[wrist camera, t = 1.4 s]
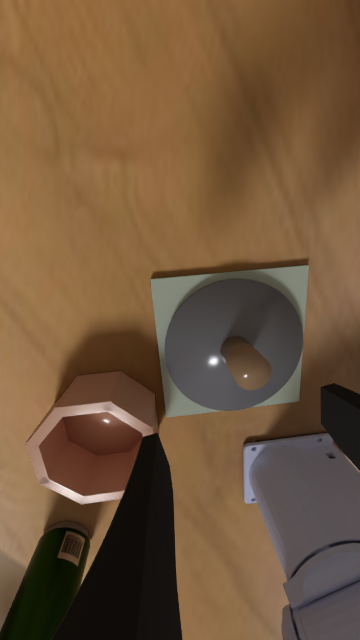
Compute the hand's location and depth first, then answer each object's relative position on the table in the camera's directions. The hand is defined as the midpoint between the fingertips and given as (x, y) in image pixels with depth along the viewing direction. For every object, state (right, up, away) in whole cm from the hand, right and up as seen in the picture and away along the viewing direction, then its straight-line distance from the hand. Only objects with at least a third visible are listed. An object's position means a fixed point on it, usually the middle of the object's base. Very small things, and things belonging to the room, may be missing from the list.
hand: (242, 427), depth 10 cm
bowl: (-10, -5, +12) cm, 16 cm away
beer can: (-15, -20, +16) cm, 30 cm away
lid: (+2, +2, +10) cm, 11 cm away
